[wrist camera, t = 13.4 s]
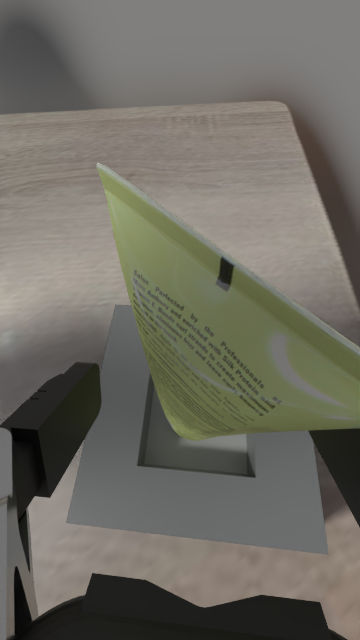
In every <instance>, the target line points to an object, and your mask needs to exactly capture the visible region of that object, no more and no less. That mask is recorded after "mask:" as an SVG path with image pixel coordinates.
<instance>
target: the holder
mask: <svg viewBox="0 0 360 640" xmlns="http://www.w3.org/2000/svg"><path fill="white" fill-rule="evenodd" d="M100 386H101V398H102V401H101V408H100V412H99V414H98V416H97V418H96V420H95V421H94V423H93V425H92V427H91V428H90V430H89V432H88V433H87V435H86V437H85V442H84V446H83V451H82V455H81V459H80V464H79V468H78V473H77V477H76V481H75V486H74V490H73V495H72V499H71V503H70V508H69V512H68V517H67V521H66V523H70V524H78V525H86V526H95V527H103V528H111V529H120V530H128V531H136V532H144V533H153V534H161V535H169V536H178V537H186V538H194V539H203V540H211V541H219V542H228V543H236V544H244V545H252V546H261V547H269V548H277V549H286V550H294V551H302V552H311V553H319V554H327V555H329V554H328V547H327V539H326V532H325V524H324V517H323V510H322V502H321V495H320V487H319V480H318V473H317V465H316V458H315V451H314V443H313V439H312V438H311V436H310V434H309V431H285V432H265V433H252V434H240V435H230V436H220V437H213V438H208V439H205V440H199V441H193V440H188V439H185V438H183V437H181V436H180V435H178V434H177V433H176V432H175V431H174V430H173V429H172V427H171V426H170V424H169V422H168V420H167V418H166V415H165V413H164V411H163V408H162V405H161V403H160V400H159V397H158V394H157V391H156V388H155V385H154V382H153V379H152V376H151V373H150V369H149V366H148V363H147V360H146V356H145V353H144V349H143V346H142V342H141V339H140V335H139V331H138V328H137V324H136V320H135V317H134V313H133V309H132V306H128V305H115V309H114V314H113V318H112V323H111V327H110V332H109V336H108V340H107V345H106V349H105V354H104V358H103V362H102V367H101V371H100Z"/></svg>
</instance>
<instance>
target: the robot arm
mask: <svg viewBox="0 0 360 640" xmlns="http://www.w3.org/2000/svg"><path fill="white" fill-rule="evenodd" d="M101 401H102V398H101V386H100V373H99V366H98V364H96V363H83V362H76V363H75V364H74V365H73V366H72V367H71V368H70V369H69V370H68V371H67V372H66V373H65V374H60V375H58V376H56V377H54V378H52V379H51V380H49V381H47V382H46V383H45V384H44V385H43V386H42V387H41V388H40V389H38V392H35V393H34V394H33V395H32V396H31V397H30V399H29V400H27V401H26V402H25V403H24V404H22V405H21V406H20V407H19V408H18V409H17V410H16V411H15V412H14V413H13V414H12V415H11V416H10V417H9V418H7V419H6V420H5V421H4V422H3V423H2V424H1V425H0V640H347V639H346V638H344V637H342V636H341V635H339V634H337V633H336V632H334V631H332V630H330V629H328V626H327V623H326V620H325V617H324V613H323V610H322V607H321V604H320V602H313V601H305V600H297V599H290V598H282V597H274V596H266V595H259V596H255V597H250V598H246V599H242V600H238V601H233V602H229V603H225V604H221V605H216V606H212V607H206V608H203V607H199V606H196V605H194V604H192V603H190V602H188V601H186V600H184V599H182V598H180V597H178V596H176V595H174V594H172V593H170V592H168V591H166V590H164V589H162V588H160V587H158V586H156V585H155V584H153V583H151V582H149V581H147V580H141V579H133V578H126V577H118V576H110V575H102V574H94V573H92V576H91V579H90V582H89V585H88V588H87V592H86V595H83V596H79V597H76V598H73V599H71V600H68V601H66V602H63V603H61V604H59V605H58V606H56V607H54V608H52V609H50V610H48V611H47V612H45V613H44V614H42V615H41V616H39V617H38V609H37V602H36V596H35V589H34V579H33V565H32V551H31V537H30V523H29V512H28V505H29V504H30V502H31V501H32V499H33V498H34V496H39V497H49V498H50V497H51V495H52V493H53V492H54V490H55V488H56V486H57V485H58V483H59V481H60V480H61V478H62V476H63V475H64V473H65V471H66V469H67V468H68V466H69V464H70V463H71V461H72V459H73V457H74V456H75V454H76V452H77V451H78V449H79V447H80V445H81V444H82V442H83V440H84V439H85V437H86V435H87V433H88V432H89V430H90V428H91V427H92V425H93V423H94V421H95V420H96V418H97V416H98V414H99V412H100V408H101ZM308 431H309V434H310V436H311V438H312V439H313V441H314V443H315V445H316V447H317V449H318V451H319V452H320V454H321V456H322V458H323V460H324V462H325V464H326V466H327V467H328V469H329V471H330V473H331V475H332V477H333V479H334V480H335V482H336V484H337V486H338V488H339V490H340V492H341V493H342V495H343V497H344V499H345V501H346V503H347V505H348V506H349V508H350V510H351V512H352V514H353V516H354V518H355V519H356V521H357V523H358V525H359V527H360V428H354V429H330V430H308Z"/></svg>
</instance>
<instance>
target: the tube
mask: <svg viewBox="0 0 360 640" xmlns="http://www.w3.org/2000/svg"><path fill="white" fill-rule="evenodd" d="M97 170H98V172H99V175H100V177H101V180H102V183H103V186H104V189H105V194H106V198H107V203H108V208H109V213H110V217H111V222H112V227H113V233H114V237H115V242H116V246H117V251H118V255H119V259H120V264H121V267H122V271H123V275H124V279H125V283H126V287H127V290H128V294H129V298H130V302H131V306H132V309H133V313H134V317H135V320H136V324H137V328H138V331H139V335H140V339H141V342H142V346H143V349H144V353H145V356H146V360H147V363H148V366H149V369H150V373H151V376H152V379H153V382H154V385H155V388H156V391H157V394H158V397H159V400H160V403H161V405H162V408H163V411H164V413H165V415H166V418H167V420H168V422H169V424H170V426H171V427H172V429H173V430H174V431H175V432H176V433H177V434H178V435H180V436H181V437H183V438H185V439H188V440H193V441H199V440H205V439H208V438H213V437H220V436H230V435H240V434H252V433H265V432H285V431H308V430H330V429H354V428H360V347H358V346H357V345H356V344H354V343H353V342H351V341H350V340H348V339H347V338H345V337H344V336H343V335H341V334H340V333H338V332H337V331H336V330H334V329H333V328H331V327H330V326H329V325H327V324H326V323H325V322H323V321H322V320H320V319H319V318H318V317H316V316H315V315H314V314H312V313H311V312H309V311H308V310H307V309H305V308H304V307H302V306H301V305H299V304H298V303H297V302H295V301H294V300H292V299H291V298H290V297H288V296H287V295H285V294H284V293H283V292H281V291H280V290H278V289H277V288H276V287H274V286H273V285H271V284H270V283H268V282H267V281H265V280H264V279H262V278H261V277H259V276H258V275H256V274H255V273H254V272H252V271H251V270H249V269H248V268H246V267H245V266H244V265H242V264H241V263H239V262H238V261H237V260H235V259H234V258H232V257H231V256H229V255H228V254H226V253H225V252H224V251H222V250H221V249H220V248H218V247H217V246H216V245H214V244H213V243H212V242H210V241H209V240H208V239H206V238H205V237H204V236H202V235H201V234H199V233H198V232H197V231H195V230H194V229H193V228H191V227H190V226H189V225H187V224H186V223H184V222H183V221H182V220H180V219H179V218H177V217H176V216H175V215H173V214H172V213H171V212H169V211H168V210H166V209H165V208H164V207H162V206H161V205H159V204H158V203H157V202H155V201H154V200H153V199H151V198H150V197H149V196H148V195H146V194H145V193H144V192H142V191H141V190H139V189H138V188H137V187H135V186H134V185H133V184H131V183H130V182H128V181H127V180H125V179H124V178H122V177H121V176H120V175H118V174H117V173H116V172H114V171H113V170H111V169H110V168H108V167H107V166H105V165H104V164H102V163H97Z"/></svg>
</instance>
